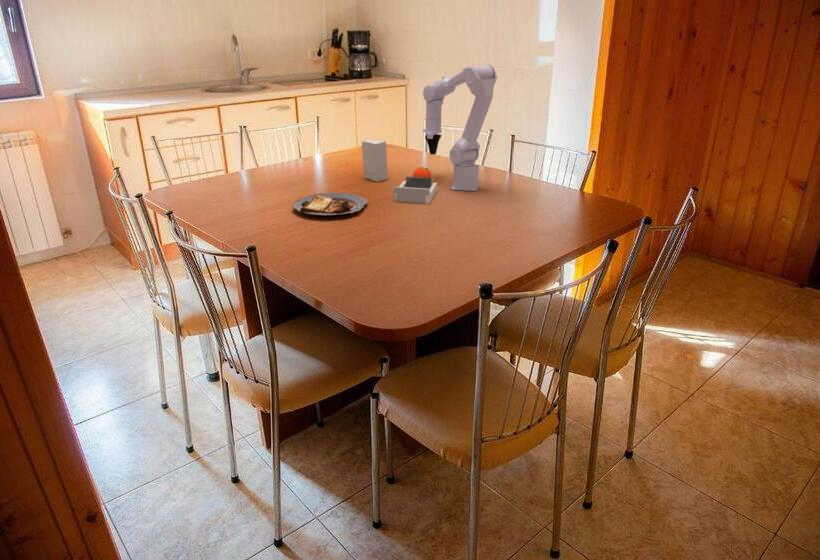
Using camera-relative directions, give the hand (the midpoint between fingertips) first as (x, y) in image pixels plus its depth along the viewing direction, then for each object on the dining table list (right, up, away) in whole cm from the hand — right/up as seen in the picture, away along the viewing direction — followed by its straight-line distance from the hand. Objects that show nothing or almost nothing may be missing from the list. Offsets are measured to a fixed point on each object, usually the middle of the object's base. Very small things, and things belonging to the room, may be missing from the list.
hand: (432, 154), depth 227 cm
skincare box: (-22, -9, +2) cm, 24 cm away
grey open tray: (-7, -19, -18) cm, 27 cm away
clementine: (-4, -13, -6) cm, 15 cm away
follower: (-6, -17, -14) cm, 23 cm away
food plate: (-35, -25, -31) cm, 54 cm away
